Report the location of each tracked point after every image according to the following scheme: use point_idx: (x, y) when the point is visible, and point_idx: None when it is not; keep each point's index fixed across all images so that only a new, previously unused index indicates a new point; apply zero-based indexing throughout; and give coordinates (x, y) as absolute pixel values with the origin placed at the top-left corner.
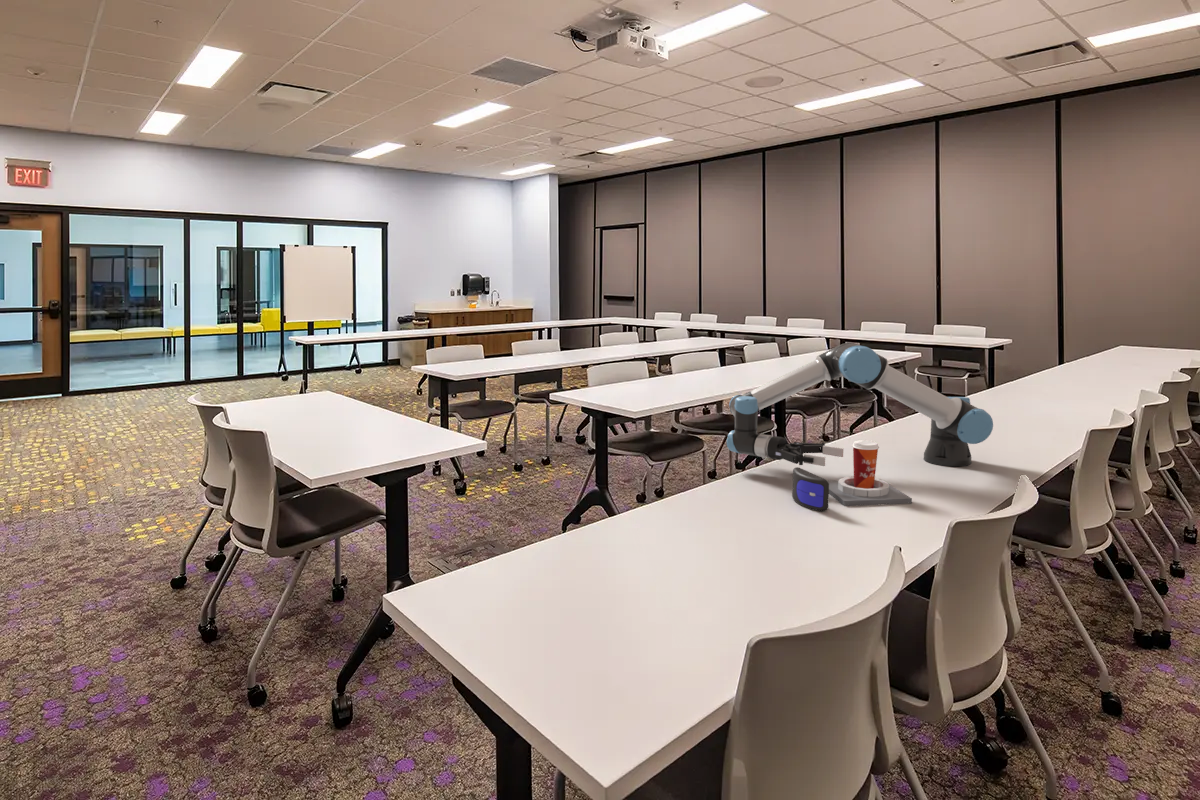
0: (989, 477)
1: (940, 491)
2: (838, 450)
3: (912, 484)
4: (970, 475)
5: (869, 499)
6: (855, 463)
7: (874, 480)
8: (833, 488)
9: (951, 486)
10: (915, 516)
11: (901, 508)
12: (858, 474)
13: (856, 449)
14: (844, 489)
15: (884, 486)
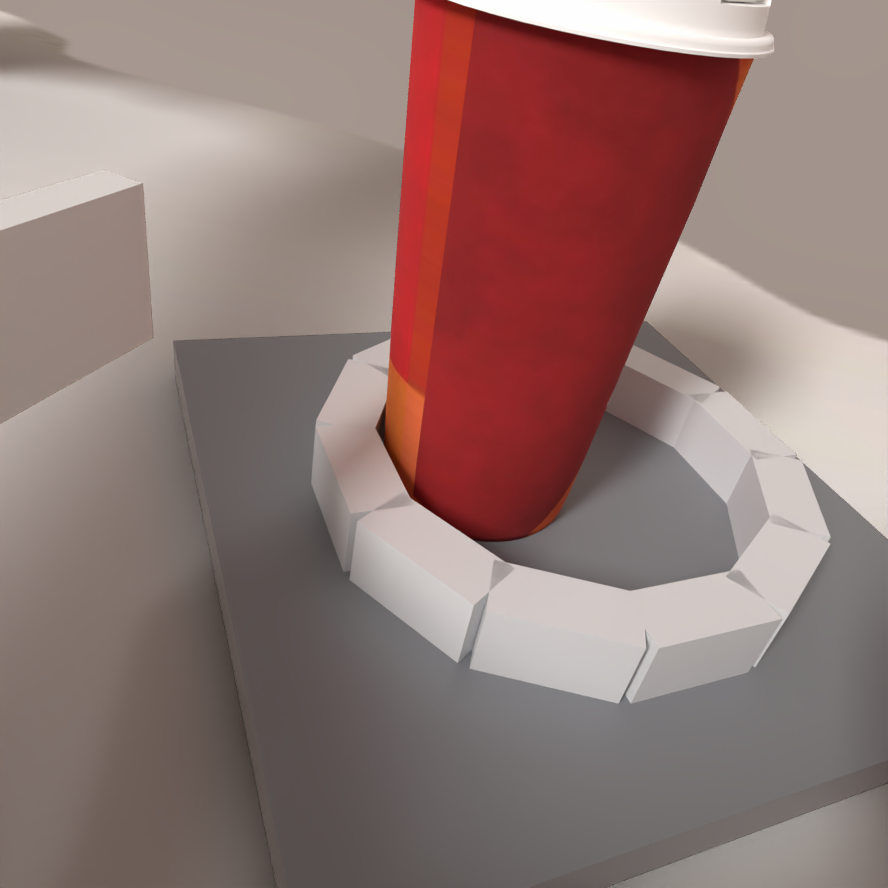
0: (83, 87)
1: (343, 224)
2: (87, 253)
3: (201, 262)
4: (34, 103)
5: (837, 506)
6: (621, 295)
7: None
8: (650, 758)
9: (240, 181)
10: (872, 389)
11: (769, 406)
12: (607, 397)
13: (720, 77)
14: (775, 634)
15: None
